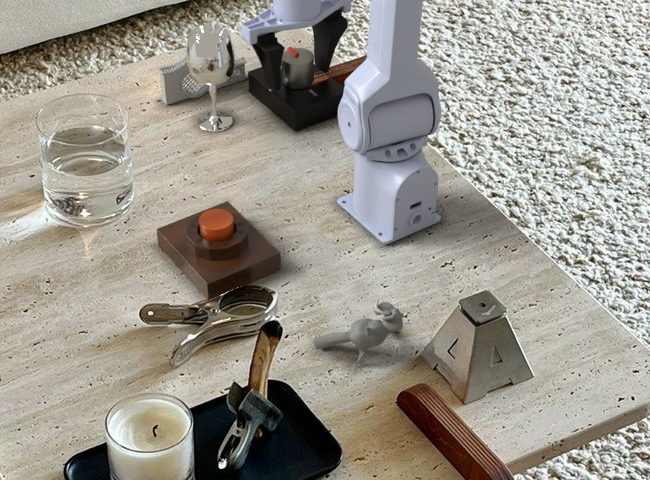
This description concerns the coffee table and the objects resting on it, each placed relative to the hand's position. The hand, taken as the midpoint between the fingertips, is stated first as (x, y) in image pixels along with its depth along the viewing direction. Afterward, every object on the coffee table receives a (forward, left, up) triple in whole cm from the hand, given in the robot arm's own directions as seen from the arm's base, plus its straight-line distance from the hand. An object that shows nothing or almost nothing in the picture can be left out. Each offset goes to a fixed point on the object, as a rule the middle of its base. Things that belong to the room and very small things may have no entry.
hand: (297, 77), depth 148 cm
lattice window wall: (+9, +9, -4) cm, 13 cm away
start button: (-21, +24, 0) cm, 32 cm away
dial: (0, 0, 0) cm, 0 cm away
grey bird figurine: (-42, +20, -4) cm, 47 cm away
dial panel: (0, 0, -3) cm, 3 cm away
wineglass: (+2, +11, -4) cm, 12 cm away
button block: (-21, +24, -3) cm, 32 cm away
